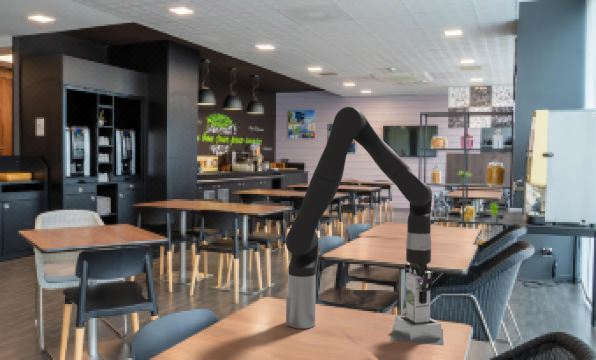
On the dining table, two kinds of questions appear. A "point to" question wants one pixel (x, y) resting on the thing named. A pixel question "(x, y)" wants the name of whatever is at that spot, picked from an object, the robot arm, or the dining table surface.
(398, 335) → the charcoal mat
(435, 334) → the metal sleeve
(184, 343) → the dining table surface
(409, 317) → the syrup box
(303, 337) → the dining table surface
